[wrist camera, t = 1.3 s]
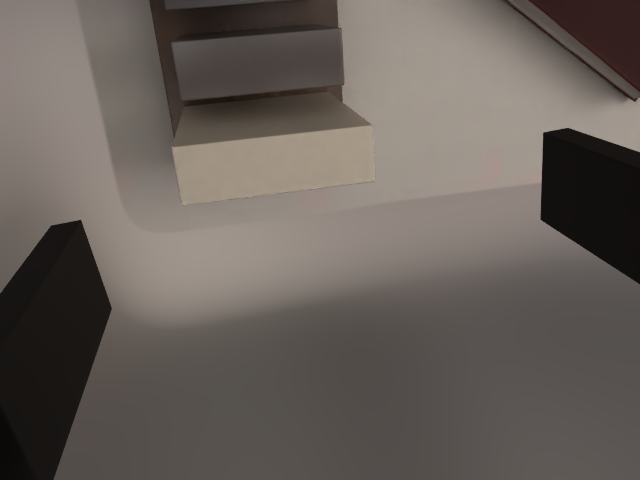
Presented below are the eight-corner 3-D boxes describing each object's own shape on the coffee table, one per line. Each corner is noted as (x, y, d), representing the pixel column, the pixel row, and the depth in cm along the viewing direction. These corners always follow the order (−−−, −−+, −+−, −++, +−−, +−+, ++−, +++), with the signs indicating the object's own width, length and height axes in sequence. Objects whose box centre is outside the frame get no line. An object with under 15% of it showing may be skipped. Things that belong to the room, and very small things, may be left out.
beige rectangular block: (183, 106, 37) (171, 147, 26) (327, 91, 38) (373, 124, 27) (191, 149, 38) (181, 205, 27) (330, 133, 39) (374, 181, 29)
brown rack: (123, -152, 32) (91, -207, 24) (325, -159, 33) (361, -213, 25) (180, 164, 39) (171, 204, 31) (342, 145, 41) (373, 179, 33)
